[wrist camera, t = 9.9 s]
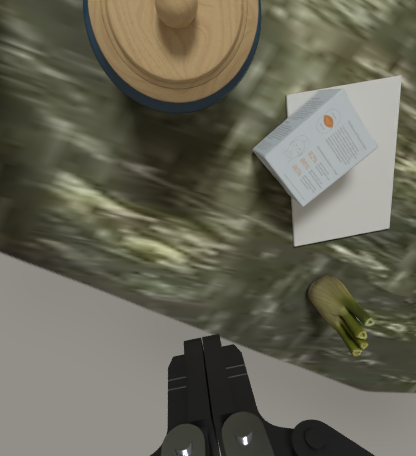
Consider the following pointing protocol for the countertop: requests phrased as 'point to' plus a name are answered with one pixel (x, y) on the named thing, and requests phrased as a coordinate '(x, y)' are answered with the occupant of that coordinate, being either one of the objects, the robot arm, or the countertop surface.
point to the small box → (316, 145)
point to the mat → (355, 170)
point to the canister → (174, 48)
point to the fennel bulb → (340, 311)
